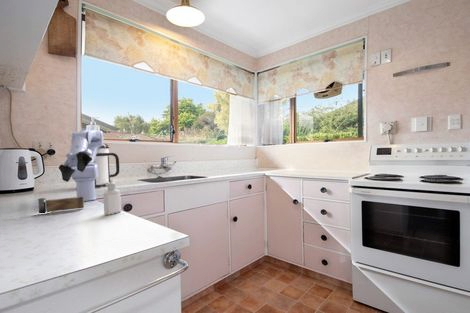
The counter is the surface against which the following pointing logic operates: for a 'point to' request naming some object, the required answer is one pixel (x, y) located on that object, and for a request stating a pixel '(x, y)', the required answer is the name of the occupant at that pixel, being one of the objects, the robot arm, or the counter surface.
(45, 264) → the counter surface
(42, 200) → the gate post
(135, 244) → the counter surface
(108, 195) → the eye dropper bottle
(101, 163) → the coffee press
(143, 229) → the counter surface
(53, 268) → the counter surface
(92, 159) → the robot arm
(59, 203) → the gate
